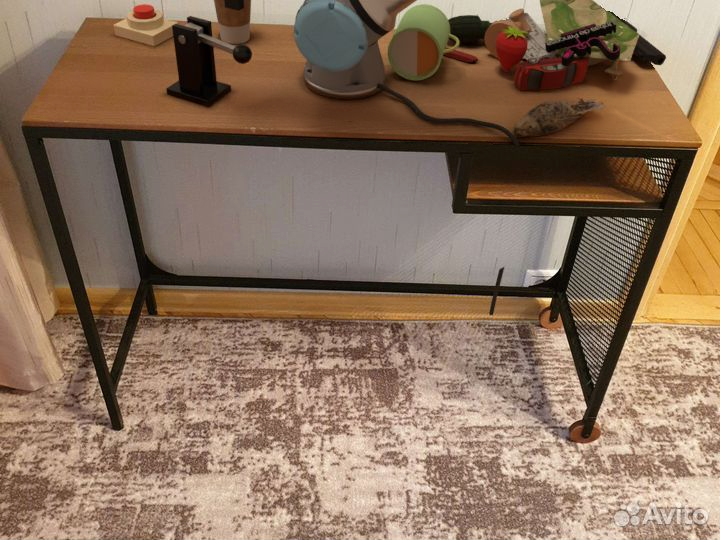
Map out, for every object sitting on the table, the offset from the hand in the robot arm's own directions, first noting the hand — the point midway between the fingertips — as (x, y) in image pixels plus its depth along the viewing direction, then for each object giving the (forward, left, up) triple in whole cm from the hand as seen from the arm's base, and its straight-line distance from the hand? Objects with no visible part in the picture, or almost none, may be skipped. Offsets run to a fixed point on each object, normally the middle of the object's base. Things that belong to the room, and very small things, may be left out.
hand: (234, 7), depth 115 cm
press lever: (+4, 0, -9) cm, 10 cm away
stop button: (+33, -15, -14) cm, 39 cm away
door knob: (-32, -47, -9) cm, 57 cm away
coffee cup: (+17, -23, -18) cm, 34 cm away
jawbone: (-52, -52, -17) cm, 76 cm away
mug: (-20, -37, -12) cm, 43 cm away
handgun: (-60, -74, -18) cm, 97 cm away
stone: (-39, -57, -16) cm, 71 cm away
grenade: (-21, -44, -14) cm, 51 cm away
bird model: (-50, -23, -12) cm, 56 cm away
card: (-47, -52, -10) cm, 71 cm away
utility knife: (-24, -38, -17) cm, 48 cm away
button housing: (+33, -15, -17) cm, 40 cm away
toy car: (-44, -40, -15) cm, 61 cm away
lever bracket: (+9, 0, -17) cm, 20 cm away
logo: (-47, -45, -9) cm, 65 cm away
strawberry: (-36, -38, -17) cm, 56 cm away
